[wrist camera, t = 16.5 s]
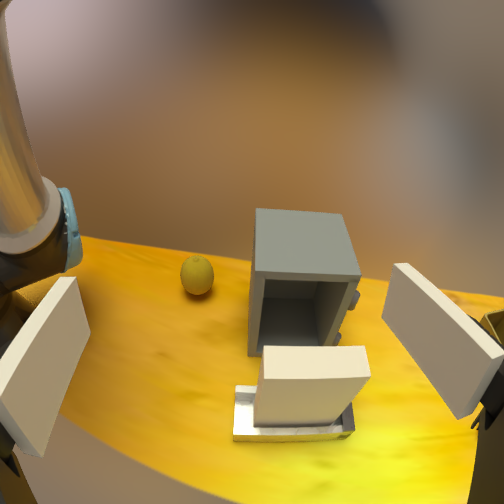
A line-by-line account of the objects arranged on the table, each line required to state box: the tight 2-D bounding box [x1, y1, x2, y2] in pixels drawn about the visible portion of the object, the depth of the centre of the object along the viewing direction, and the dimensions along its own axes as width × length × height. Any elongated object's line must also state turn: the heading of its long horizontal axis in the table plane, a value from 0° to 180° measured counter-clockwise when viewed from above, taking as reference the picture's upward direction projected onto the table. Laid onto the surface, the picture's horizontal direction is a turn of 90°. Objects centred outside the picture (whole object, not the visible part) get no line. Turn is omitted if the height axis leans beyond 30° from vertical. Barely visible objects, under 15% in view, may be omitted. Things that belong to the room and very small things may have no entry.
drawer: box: [233, 385, 355, 442], centre depth 38 cm, size 15×7×4 cm, turn 89°
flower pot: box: [480, 309, 504, 346], centre depth 42 cm, size 9×9×9 cm
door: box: [253, 346, 371, 428], centre depth 33 cm, size 10×4×16 cm, turn 89°
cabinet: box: [248, 208, 362, 357], centre depth 45 cm, size 13×12×18 cm
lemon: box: [180, 256, 214, 295], centre depth 53 cm, size 6×6×8 cm
